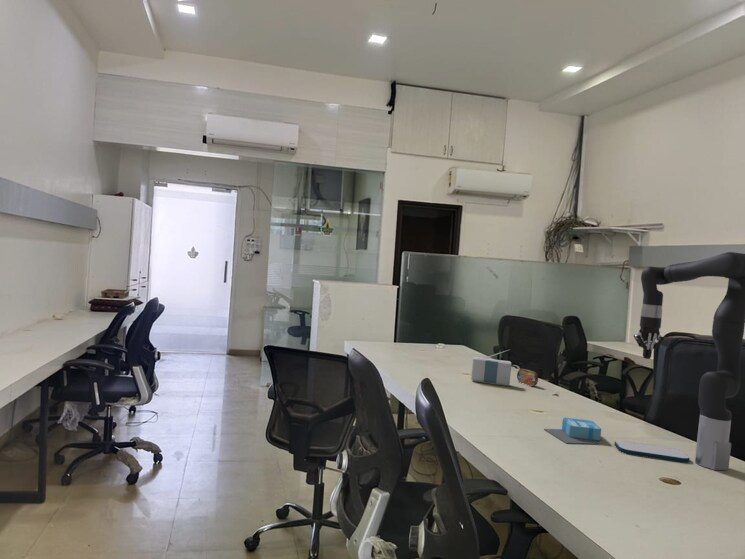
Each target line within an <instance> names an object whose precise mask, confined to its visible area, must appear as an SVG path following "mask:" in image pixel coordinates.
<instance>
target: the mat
mask: <svg viewBox="0 0 745 559" xmlns="http://www.w3.org/2000/svg"><path fill="white" fill-rule="evenodd" d="M543 430H544V431H545V432H546V433H549V435H551V436H553V437H555V438H556V439H557V440H559V441H561V442H562V443H565V444H566V445H567V444H568V445H569V444H570V445H598V444H600V442H598V441H597V440H589V439H581V438H572V437H569V436H568V435H567V434H566V433H565V432H564V431H563V429H562V428H543Z"/></svg>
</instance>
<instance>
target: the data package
mask: <svg viewBox="0 0 745 559" xmlns="http://www.w3.org/2000/svg"><path fill="white" fill-rule="evenodd" d="M561 422H562V424H561V429H563V431H564V432H565V433H566V434H567V435H568V436H569V437H572V438H581V439H589V440H594V441H601V435H602V428H601V427H600V426H599V425H597V424H596V423H595V422H594V421H592V420H589V419H583V418H581V419H579V418H572V417H563V418H562V421H561Z"/></svg>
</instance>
